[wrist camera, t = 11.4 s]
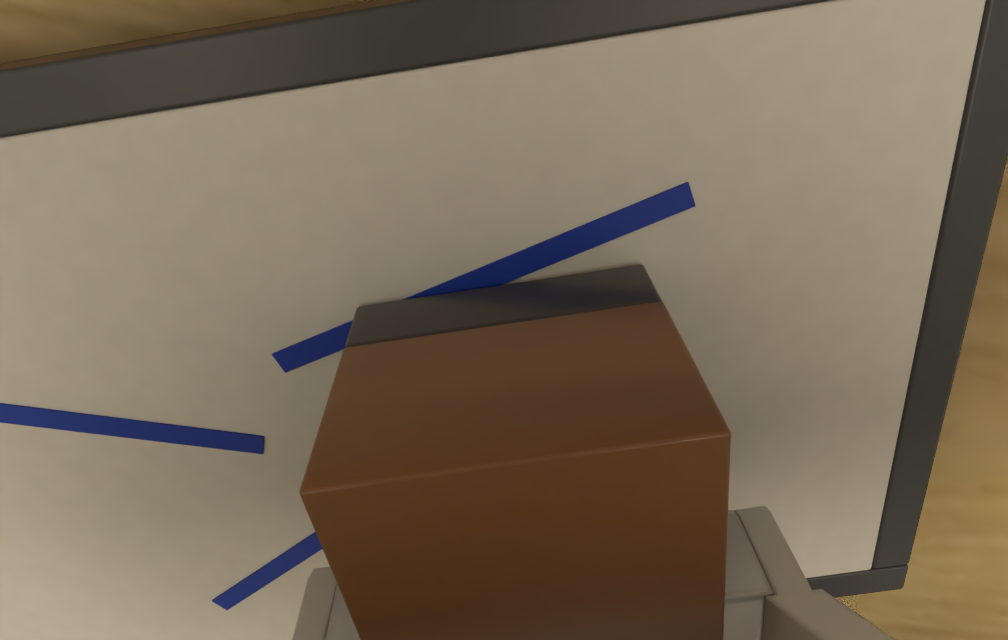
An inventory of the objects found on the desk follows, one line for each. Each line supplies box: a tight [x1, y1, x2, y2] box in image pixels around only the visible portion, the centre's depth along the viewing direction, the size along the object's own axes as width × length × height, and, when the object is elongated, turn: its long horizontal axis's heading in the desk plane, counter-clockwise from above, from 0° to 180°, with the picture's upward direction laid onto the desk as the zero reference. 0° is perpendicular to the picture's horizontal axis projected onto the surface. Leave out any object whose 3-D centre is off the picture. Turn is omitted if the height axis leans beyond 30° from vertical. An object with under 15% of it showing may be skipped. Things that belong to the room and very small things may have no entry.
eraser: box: [299, 264, 731, 640], centre depth 11 cm, size 9×4×4 cm, turn 8°
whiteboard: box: [0, 0, 1008, 640], centre depth 12 cm, size 13×24×1 cm, turn 98°
